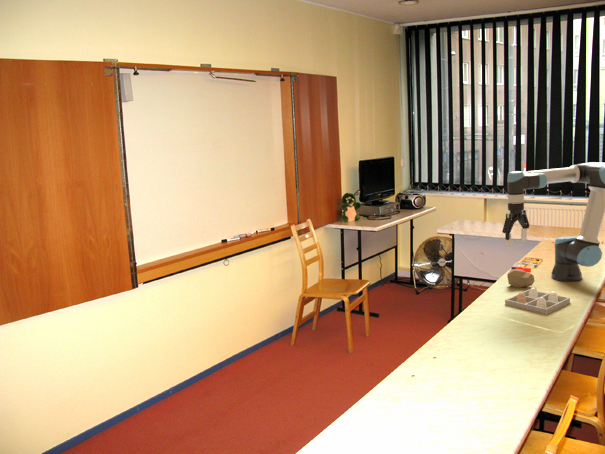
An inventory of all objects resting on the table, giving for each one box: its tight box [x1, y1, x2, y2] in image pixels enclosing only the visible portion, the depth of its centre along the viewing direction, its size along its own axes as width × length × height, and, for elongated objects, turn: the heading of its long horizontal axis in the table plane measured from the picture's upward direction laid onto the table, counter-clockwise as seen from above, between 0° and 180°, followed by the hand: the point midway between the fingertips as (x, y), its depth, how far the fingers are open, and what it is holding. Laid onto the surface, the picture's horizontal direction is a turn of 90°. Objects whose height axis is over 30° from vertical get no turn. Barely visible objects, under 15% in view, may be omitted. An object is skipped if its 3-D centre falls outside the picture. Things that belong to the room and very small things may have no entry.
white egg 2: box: [537, 297, 546, 309], centre depth 247 cm, size 4×4×6 cm
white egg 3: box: [548, 291, 559, 303], centre depth 252 cm, size 4×4×6 cm
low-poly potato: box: [507, 268, 535, 288], centre depth 281 cm, size 15×11×12 cm
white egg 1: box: [529, 287, 538, 298], centre depth 260 cm, size 4×4×6 cm
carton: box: [504, 288, 571, 315], centre depth 254 cm, size 21×21×3 cm
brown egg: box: [517, 292, 526, 304], centre depth 255 cm, size 4×4×6 cm
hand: (516, 243), depth 268 cm, fingers open, 13 cm apart
